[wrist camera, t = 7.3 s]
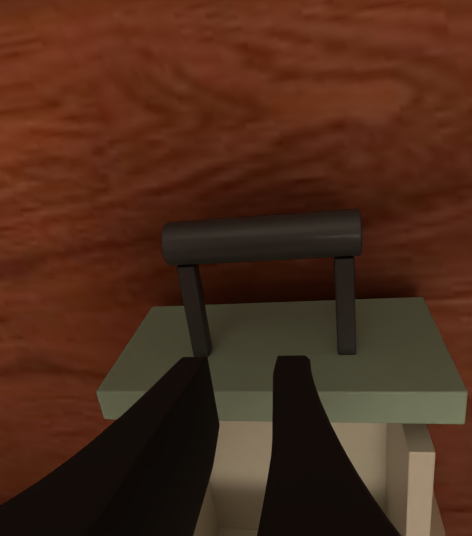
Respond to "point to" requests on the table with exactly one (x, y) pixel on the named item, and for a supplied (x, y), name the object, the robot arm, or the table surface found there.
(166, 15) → the table surface
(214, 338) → the drawer
